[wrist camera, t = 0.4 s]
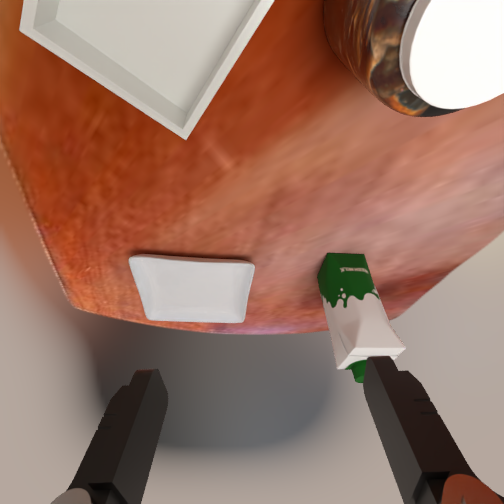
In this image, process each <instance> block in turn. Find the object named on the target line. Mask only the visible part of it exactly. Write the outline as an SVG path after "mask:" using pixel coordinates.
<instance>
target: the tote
mask: <svg viewBox="0 0 504 504" xmlns="http://www.w3.org/2000/svg"><path fill="white" fill-rule="evenodd" d="M273 2H274V0H24V3H23V9H22V16H21V22H20V29H19V31H21V32H22V33H24V34H25V35H27V36H28V37H30V38H31V39H33V40H34V41H36V42H37V43H39V44H41V45H42V46H44V47H45V48H47V49H48V50H50V51H51V52H53V53H54V54H56V55H57V56H59V57H60V58H62V59H63V60H65V61H66V62H68V63H69V64H71V65H72V66H74V67H75V68H77V69H78V70H80V71H81V72H83V73H85V74H86V75H88V76H89V77H91V78H92V79H94V80H95V81H97V82H98V83H100V84H101V85H103V86H104V87H106V88H107V89H109V90H110V91H112V92H113V93H115V94H116V95H118V96H119V97H121V98H122V99H124V100H126V101H127V102H129V103H130V104H132V105H133V106H135V107H136V108H138V109H139V110H141V111H142V112H144V113H145V114H147V115H148V116H150V117H151V118H153V119H154V120H156V121H157V122H159V123H160V124H162V125H163V126H165V127H167V128H168V129H170V130H171V131H173V132H174V133H176V134H177V135H179V136H180V137H182V138H183V139H185V140H186V139H187V138H188V136H189V135H190V133H191V131H192V130H193V128H194V127H195V125H196V124H197V122H198V120H199V119H200V117H201V116H202V114H203V113H204V111H205V109H206V108H207V106H208V105H209V103H210V101H211V100H212V98H213V97H214V95H215V94H216V92H217V90H218V89H219V87H220V86H221V84H222V82H223V81H224V79H225V78H226V76H227V75H228V73H229V71H230V70H231V68H232V67H233V65H234V63H235V62H236V60H237V59H238V57H239V56H240V54H241V52H242V51H243V49H244V48H245V46H246V44H247V43H248V41H249V40H250V38H251V37H252V35H253V33H254V32H255V30H256V29H257V27H258V26H259V24H260V22H261V21H262V19H263V18H264V16H265V14H266V13H267V11H268V10H269V8H270V7H271V5H272V3H273Z"/></svg>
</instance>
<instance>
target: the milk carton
mask: <svg viewBox="0 0 504 504" xmlns="http://www.w3.org/2000/svg"><path fill="white" fill-rule="evenodd" d="M317 278H318V284H319V289H320V294H321V298H322V302H323V306H324V310H325V314H326V319H327V323H328V327H329V331H330V335H331V340H332V344H333V350H334V355H335V360H336V366H337V369H346V370H348V369H351V370H352V372H353V375H354V379H355V381H356V382H358V383H363V380H364V374H365V368H366V361H367V358H368V357H374V356H390V357H391V358H392V360H394V359H396V358H397V357H398V355H399V354H400V353H401V352H402V351H403V350H405V349H406V347H405V345H404V344H403V343H402V341H401V340H400V338H399V337H398V335H397V334H396V332H395V331H394V329H393V328H392V326H391V324H390V322H389V320H388V317H387V315H386V313H385V310H384V308H383V305H382V303H381V300H380V298H379V295H378V293H377V290H376V288H375V286H374V283H373V280H372V277H371V274H370V271H369V268H368V265H367V262H366V259H365V255H364V254H341V253H327V255H326V258H325V260H324V262H323V264H322V267H321V269H320V271H319V274H318V276H317Z"/></svg>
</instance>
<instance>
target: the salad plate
mask: <svg viewBox="0 0 504 504" xmlns="http://www.w3.org/2000/svg"><path fill="white" fill-rule="evenodd" d="M129 265H130V268H131V271H132V274H133V277H134V280H135V283H136V285H137V288H138V291H139V294H140V297H141V300H142V304H143V307H144V311H145V314H146V317H147V318H148V319H149V320H157V321H185V322H218V323H241V322H243V321H244V319H245V314H246V307H247V301H248V296H249V291H250V287H251V283H252V279H253V275H254V271H255V266H254V264H252V263H251V262H248V261H244V260H234V259H209V258H194V257H178V256H164V255H153V254H138V255H134V256H132V257H130V258H129Z"/></svg>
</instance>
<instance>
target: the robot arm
mask: <svg viewBox="0 0 504 504" xmlns="http://www.w3.org/2000/svg"><path fill="white" fill-rule="evenodd" d="M363 387H364V394H365V397H366V401H367V403H368V406H369V409H370V412H371V414H372V417H373V419H374V422H375V425H376V428H377V430H378V433H379V436H380V439H381V441H382V444H383V447H384V450H385V452H386V455H387V458H388V461H389V463H390V466H391V469H392V472H393V474H394V477H395V480H396V482H397V485H398V488H399V491H400V494H401V496H402V499H403V502H404V504H504V497H502V496H500V495H498V494H497V493H495V492H494V491H492V490H491V489H490V488H489V487H488V486H487V485H485V484H484V483H483V482H481V480H480V479H479V478H478V477H477V476H476V475H475V474H474V472H473V471H472V470H471V468H470V467H469V465H468V464H467V462H466V460H465V458H464V457H463V455H462V453H461V451H460V450H459V448H458V446H457V445H456V443H455V441H454V439H453V438H452V436H451V434H450V432H449V431H448V429H447V427H446V426H445V424H444V422H443V420H442V419H441V417H440V415H438V413H437V410H436V408H435V406H434V405H433V403H432V402H431V401H430V398H429V396H428V394H427V393H426V391H425V389H424V387H423V386H422V384H421V383H420V382H419V381H418V380H417V379H416V378H415V377H414V376H413V375H412V374H411V373H410V372H409V371H398V369H397V367H396V365H395V363H394V361H393V360H392V358H391V357H390V356H374V357H368V358H367V361H366V368H365V374H364V380H363ZM167 406H168V393H167V390H166V387H165V385H164V383H163V380H162V377H161V375H160V372H159V370H158V369H144V370H137V371H136V372H135V373H134V375H133V378H132V380H131V382H130V385H129V386H122V387H121V388H120V389H119V390H118V392H117V393H116V394H115V395H114V396H113V397H112V399H111V400H110V402H109V404H108V407H107V409H106V411H105V413H104V417H102V419H101V422H100V424H99V426H98V430H96V432H95V434H94V437H93V439H92V441H91V443H90V445H89V447H88V449H87V451H86V454H85V456H84V458H83V460H82V462H81V464H80V467H79V469H78V471H77V473H76V475H75V477H74V479H73V481H72V483H71V485H70V486H69V488H68V489H67V491H66V492H64V493H63V494H61V495H60V496H58V497H57V498H56V499H55V500H54V501H53V502H52V503H51V504H141V501H142V497H143V494H144V490H145V486H146V483H147V480H148V476H149V472H150V469H151V465H152V462H153V458H154V454H155V450H156V447H157V443H158V440H159V436H160V432H161V429H162V425H163V422H164V418H165V414H166V411H167Z"/></svg>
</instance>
